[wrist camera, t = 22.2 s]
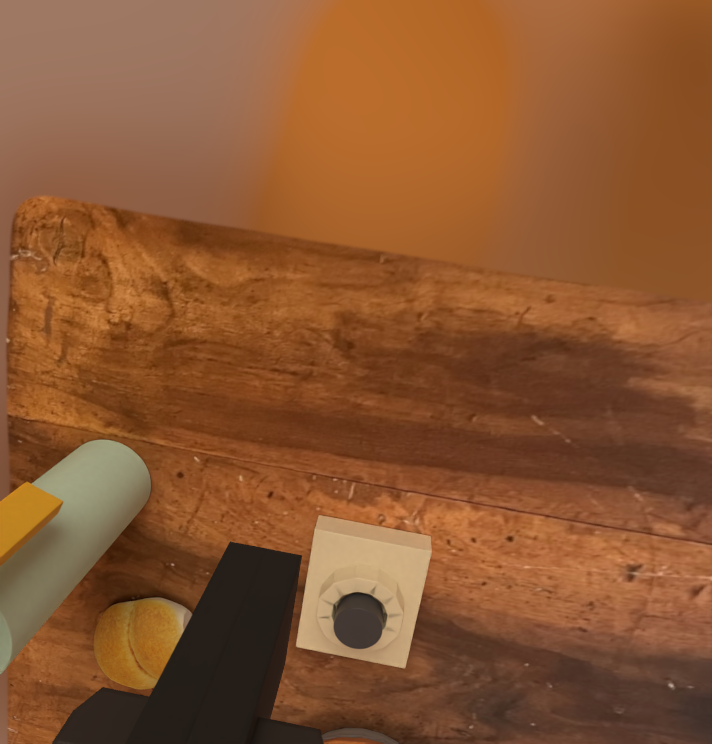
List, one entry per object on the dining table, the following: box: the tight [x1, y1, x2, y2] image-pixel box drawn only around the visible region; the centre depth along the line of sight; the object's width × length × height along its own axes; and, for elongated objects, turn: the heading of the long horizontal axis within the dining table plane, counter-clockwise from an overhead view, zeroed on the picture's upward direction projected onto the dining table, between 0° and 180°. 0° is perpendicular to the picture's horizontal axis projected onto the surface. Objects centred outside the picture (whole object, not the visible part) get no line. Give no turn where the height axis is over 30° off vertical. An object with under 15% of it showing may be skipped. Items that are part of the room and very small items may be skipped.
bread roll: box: [94, 597, 192, 689], centre depth 51 cm, size 8×9×4 cm
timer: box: [296, 515, 432, 668], centre depth 48 cm, size 11×9×4 cm
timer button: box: [333, 593, 383, 649], centre depth 46 cm, size 4×4×2 cm
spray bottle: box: [0, 440, 151, 675], centre depth 37 cm, size 12×7×25 cm, turn 151°
